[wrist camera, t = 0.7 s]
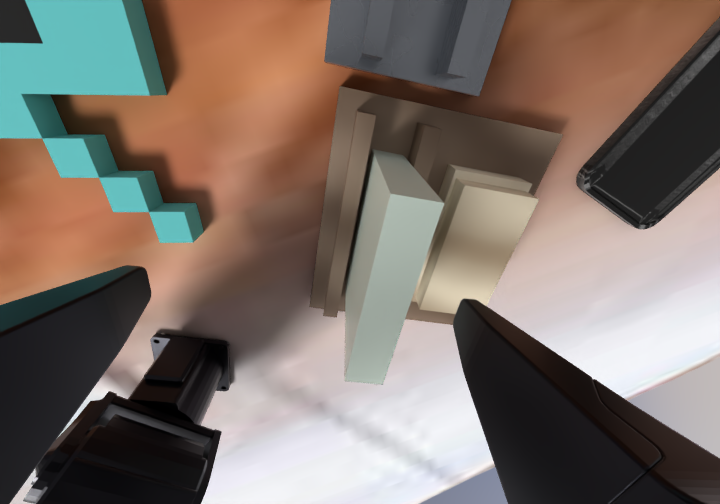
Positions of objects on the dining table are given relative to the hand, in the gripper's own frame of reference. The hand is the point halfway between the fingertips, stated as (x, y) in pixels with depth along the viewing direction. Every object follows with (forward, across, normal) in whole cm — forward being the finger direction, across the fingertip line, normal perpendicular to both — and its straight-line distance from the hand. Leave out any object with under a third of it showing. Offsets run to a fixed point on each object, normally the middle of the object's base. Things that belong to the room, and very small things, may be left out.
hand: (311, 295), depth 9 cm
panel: (+12, -3, +2) cm, 13 cm away
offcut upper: (+11, -10, +3) cm, 15 cm away
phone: (+14, -23, -8) cm, 28 cm away
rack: (+13, -7, +3) cm, 15 cm away
